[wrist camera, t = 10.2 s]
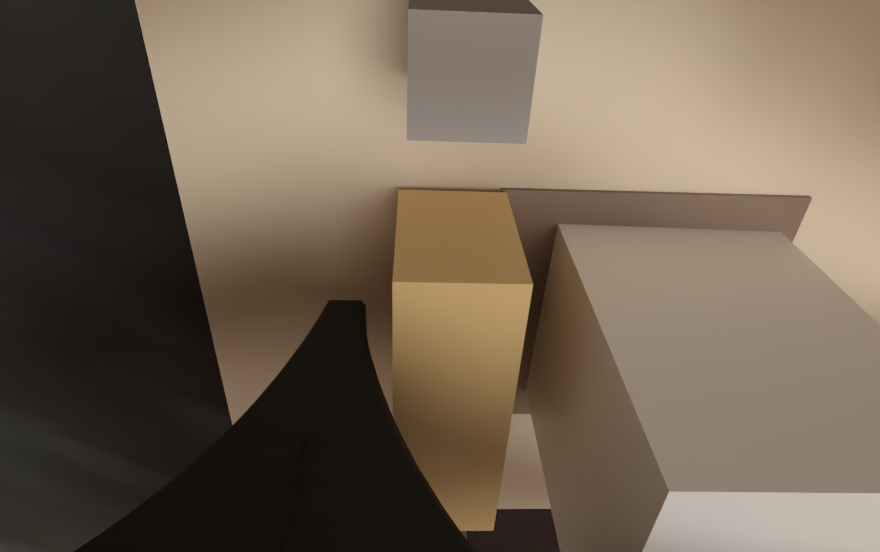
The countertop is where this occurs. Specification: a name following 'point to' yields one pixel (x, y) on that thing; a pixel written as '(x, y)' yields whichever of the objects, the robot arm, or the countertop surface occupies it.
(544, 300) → the block
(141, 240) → the countertop surface
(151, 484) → the countertop surface
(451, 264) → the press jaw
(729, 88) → the press bed
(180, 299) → the countertop surface
